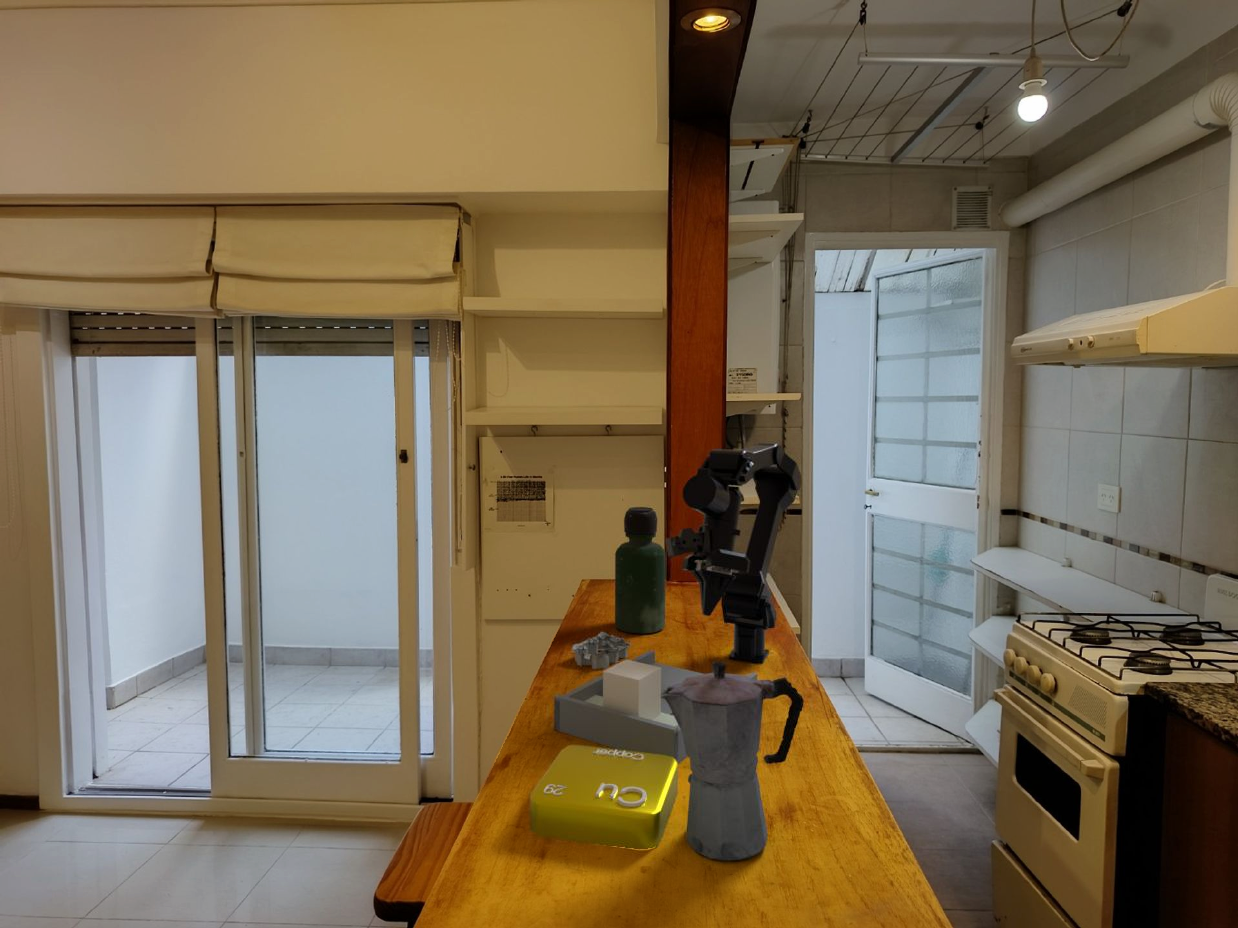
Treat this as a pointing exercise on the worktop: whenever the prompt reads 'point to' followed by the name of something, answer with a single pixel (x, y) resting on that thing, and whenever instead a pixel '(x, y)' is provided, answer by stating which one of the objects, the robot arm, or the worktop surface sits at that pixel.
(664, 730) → the gray open tray
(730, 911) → the worktop surface
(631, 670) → the cream block
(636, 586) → the green capped bottle
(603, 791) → the element tile
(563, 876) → the worktop surface
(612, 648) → the egg carton
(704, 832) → the moka pot
